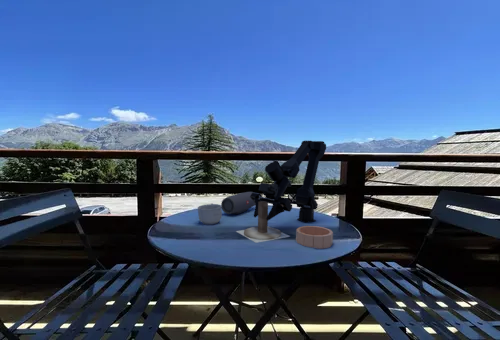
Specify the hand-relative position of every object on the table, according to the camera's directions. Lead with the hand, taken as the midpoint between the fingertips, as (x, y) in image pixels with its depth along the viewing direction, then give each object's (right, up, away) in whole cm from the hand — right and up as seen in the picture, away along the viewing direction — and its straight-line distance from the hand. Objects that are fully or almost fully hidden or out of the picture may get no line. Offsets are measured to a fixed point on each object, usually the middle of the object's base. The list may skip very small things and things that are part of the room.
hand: (260, 218), depth 119 cm
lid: (+1, -7, +2) cm, 7 cm away
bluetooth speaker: (-9, -3, +41) cm, 42 cm away
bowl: (+20, -8, -7) cm, 22 cm away
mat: (+1, -7, +2) cm, 7 cm away
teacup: (-22, -5, +19) cm, 30 cm away
